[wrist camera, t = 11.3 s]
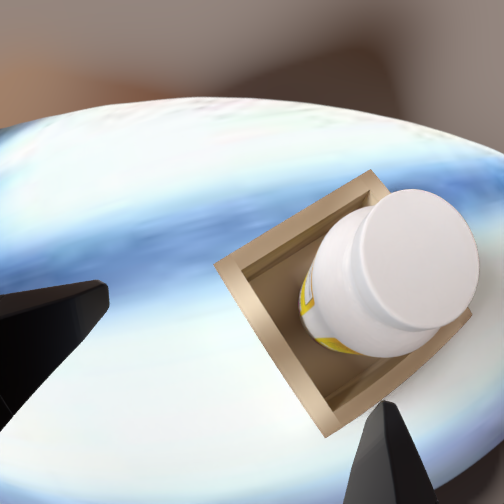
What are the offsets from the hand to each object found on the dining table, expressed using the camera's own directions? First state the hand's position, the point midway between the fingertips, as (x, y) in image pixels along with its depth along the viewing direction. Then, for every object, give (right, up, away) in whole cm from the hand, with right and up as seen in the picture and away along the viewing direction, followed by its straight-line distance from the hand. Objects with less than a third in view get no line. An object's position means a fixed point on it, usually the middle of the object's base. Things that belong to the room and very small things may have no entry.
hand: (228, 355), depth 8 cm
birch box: (+7, -1, +13) cm, 15 cm away
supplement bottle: (+7, -1, +13) cm, 15 cm away
